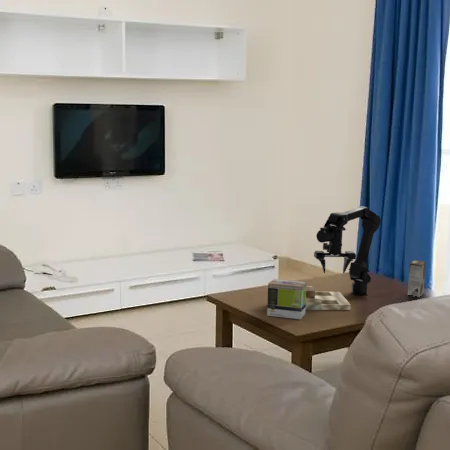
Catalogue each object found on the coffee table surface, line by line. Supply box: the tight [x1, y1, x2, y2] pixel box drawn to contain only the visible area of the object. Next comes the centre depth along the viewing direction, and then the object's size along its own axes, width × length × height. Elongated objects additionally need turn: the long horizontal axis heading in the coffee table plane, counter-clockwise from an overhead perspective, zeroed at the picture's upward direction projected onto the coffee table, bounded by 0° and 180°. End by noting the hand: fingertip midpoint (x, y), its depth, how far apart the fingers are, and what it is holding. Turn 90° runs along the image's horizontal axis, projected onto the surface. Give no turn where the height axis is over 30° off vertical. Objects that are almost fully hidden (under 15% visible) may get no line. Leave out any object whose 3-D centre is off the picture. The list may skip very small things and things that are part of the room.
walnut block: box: [306, 287, 316, 299], centre depth 338 cm, size 6×6×4 cm
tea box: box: [266, 278, 307, 320], centre depth 318 cm, size 15×10×15 cm, turn 71°
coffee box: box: [407, 259, 427, 298], centre depth 358 cm, size 9×6×16 cm
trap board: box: [305, 285, 352, 311], centre depth 339 cm, size 21×22×5 cm
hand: (333, 273), depth 343 cm, fingers open, 9 cm apart
